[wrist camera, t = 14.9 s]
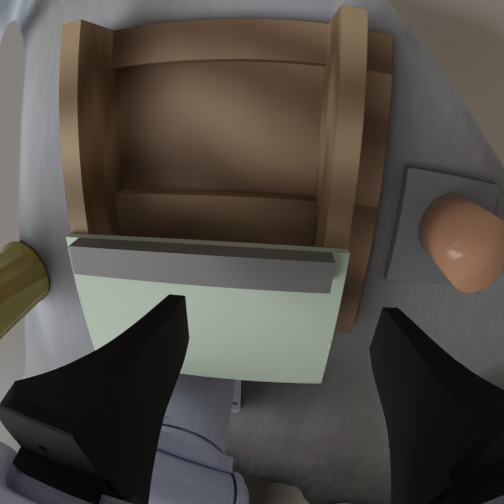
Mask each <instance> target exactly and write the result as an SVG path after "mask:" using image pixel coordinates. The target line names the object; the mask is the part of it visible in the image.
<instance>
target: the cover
mask: <svg viewBox="0 0 504 504" xmlns="http://www.w3.org/2000/svg"><path fill="white" fill-rule="evenodd" d="M66 240H67V245H68V250H69V255H70V260H71V264H72V269H73V273H74V278H75V282H76V286H77V290H78V294H79V298H80V302H81V305H82V309H83V313H84V316H85V320H86V323H87V326H88V330H89V333H90V336H91V339H92V343H93V346H94V349H95V350H97V349H99V348H100V347H102V346H104V345H105V344H107V343H108V342H110V341H111V340H113V339H114V338H116V337H117V336H119V335H120V334H121V333H123V332H124V331H125V330H127V329H128V328H129V327H131V326H132V325H133V324H135V323H136V322H137V321H138V320H139V319H141V318H142V317H143V316H144V315H146V314H147V313H148V312H149V311H150V310H151V309H153V308H154V307H155V306H156V305H157V304H158V303H159V302H161V301H162V300H163V299H164V298H165V297H167V296H168V295H169V294H172V295H183V296H185V298H186V309H187V319H188V329H189V343H188V348H187V352H186V356H185V360H184V363H183V366H182V369H181V372H180V374H187V375H195V376H204V377H214V378H224V379H235V380H248V381H263V382H283V383H321V382H322V378H323V375H324V371H325V367H326V363H327V359H328V355H329V351H330V347H331V343H332V338H333V334H334V330H335V325H336V321H337V317H338V312H339V307H340V303H341V298H342V293H343V288H344V283H345V278H346V272H347V267H348V262H349V256H350V252H349V250H348V249H340V248H324V247H308V246H292V245H276V244H259V243H242V242H225V241H207V240H189V239H171V238H152V237H133V236H113V235H93V234H72V233H70V234H69V235H68V236H67V237H66Z"/></svg>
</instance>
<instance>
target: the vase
mask: <svg viewBox="0 0 504 504" xmlns="http://www.w3.org/2000/svg"><path fill="white" fill-rule="evenodd" d="M48 289H49V280H48V275H47V272H46V269H45V267H44V265H43V263H42V261H41V259H40V258H39V257H38V255H37V254H36V253H35V252H34V251H33V250H32V249H31V248H29V247H28V246H27V245H25V244H23V243H21V242H10V243H8V244H7V245H6V246H5V247H4V248H3V249H2V250H1V251H0V339H1V338H2V337H3V336H4V335H5V334H6V333H7V332H8V331H9V330H10V329H11V328H12V327H13V326H15V325H16V324H17V323H18V322H19V321H20V320H21V319H22V318H23V317H24V316H25V315H26V314H27V313H28V312H29V311H30V310H31V309H32V308H33V307H34V306H35V305H36V304H37V303H39V302H40V301H41V300H43V299H44V298H45V296H46V294H47V292H48Z"/></svg>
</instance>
